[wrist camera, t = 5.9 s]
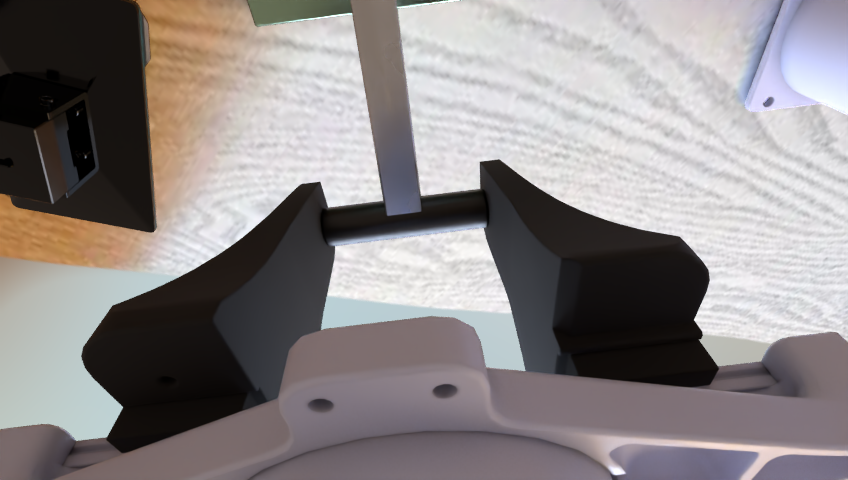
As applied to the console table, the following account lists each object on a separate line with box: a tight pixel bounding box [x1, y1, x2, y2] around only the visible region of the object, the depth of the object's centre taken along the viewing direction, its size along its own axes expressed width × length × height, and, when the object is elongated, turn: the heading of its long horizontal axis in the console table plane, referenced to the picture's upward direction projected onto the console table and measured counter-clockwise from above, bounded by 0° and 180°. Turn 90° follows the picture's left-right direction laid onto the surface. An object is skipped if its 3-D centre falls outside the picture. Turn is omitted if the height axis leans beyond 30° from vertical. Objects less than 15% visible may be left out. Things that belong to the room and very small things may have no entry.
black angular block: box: [0, 0, 157, 233], centre depth 19 cm, size 12×7×5 cm, turn 162°
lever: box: [321, 0, 489, 246], centre depth 11 cm, size 12×5×2 cm, turn 6°
